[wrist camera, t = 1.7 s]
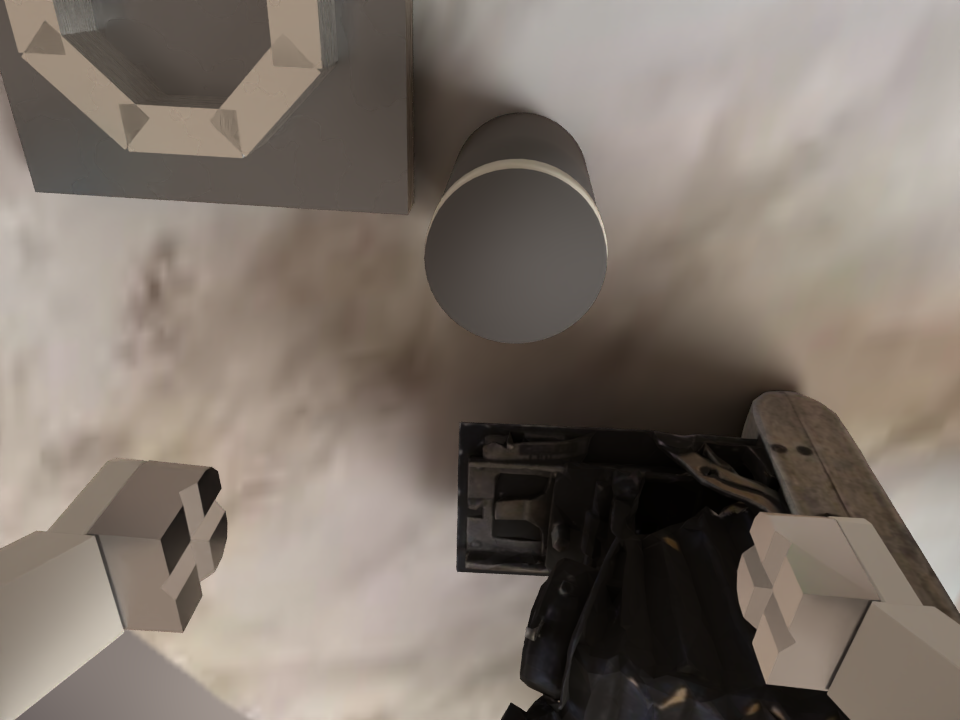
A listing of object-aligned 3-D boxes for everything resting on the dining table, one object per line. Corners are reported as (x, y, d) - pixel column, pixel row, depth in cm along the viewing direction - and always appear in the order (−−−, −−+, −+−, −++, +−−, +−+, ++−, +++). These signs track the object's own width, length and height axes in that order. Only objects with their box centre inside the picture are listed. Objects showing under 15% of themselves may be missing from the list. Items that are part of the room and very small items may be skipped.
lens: (596, 115, 24) (621, 176, 17) (580, 251, 27) (596, 350, 20) (454, 107, 25) (422, 164, 18) (451, 242, 27) (422, 338, 20)
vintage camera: (470, 356, 30) (350, 881, 13) (833, 385, 29) (1208, 1001, 12) (466, 517, 35) (375, 1047, 18) (775, 548, 34) (983, 1144, 17)
